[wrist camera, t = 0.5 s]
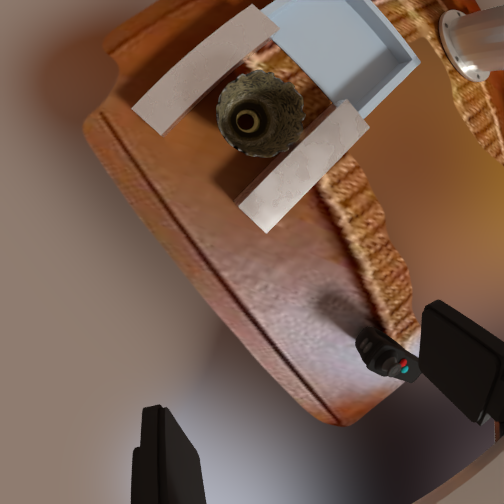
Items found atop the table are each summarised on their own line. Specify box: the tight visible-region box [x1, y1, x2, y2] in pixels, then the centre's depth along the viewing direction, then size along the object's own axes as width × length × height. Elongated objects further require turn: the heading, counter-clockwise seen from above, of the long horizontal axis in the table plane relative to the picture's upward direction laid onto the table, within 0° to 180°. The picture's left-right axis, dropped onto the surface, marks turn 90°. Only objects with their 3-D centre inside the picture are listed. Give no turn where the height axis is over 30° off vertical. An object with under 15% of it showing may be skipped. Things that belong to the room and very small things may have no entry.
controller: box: [355, 327, 422, 383], centre depth 39 cm, size 4×12×10 cm, turn 57°
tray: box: [260, 0, 420, 119], centre depth 28 cm, size 13×16×3 cm
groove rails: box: [132, 4, 370, 234], centre depth 29 cm, size 16×18×4 cm
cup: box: [216, 70, 306, 158], centre depth 27 cm, size 8×7×8 cm
